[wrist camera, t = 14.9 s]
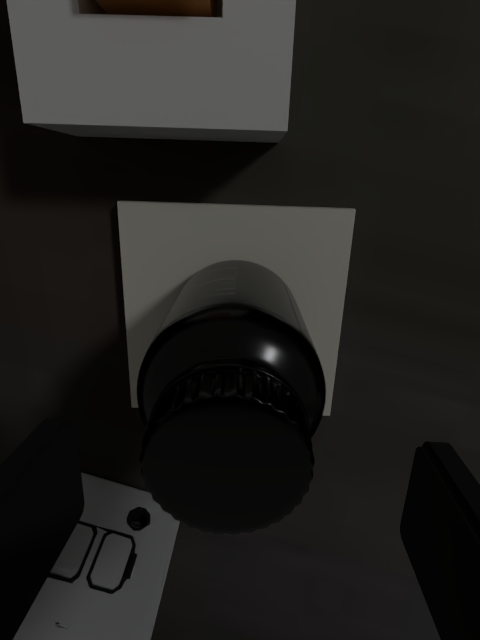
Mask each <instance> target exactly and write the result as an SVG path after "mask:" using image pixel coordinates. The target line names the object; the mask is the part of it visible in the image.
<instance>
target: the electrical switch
mask: <svg viewBox="0 0 480 640" xmlns="http://www.w3.org/2000/svg"><path fill="white" fill-rule="evenodd" d="M81 476H82V484H83V492H84V502H85V504H84V510H83V514H82V516H81V518H80V520H79V521H78V523H77V525H76V527H75V529H74V530H73V532H72V534H71V536H70V538H69V539H68V541H67V543H66V545H65V547H64V548H63V550H62V552H61V554H60V556H59V557H58V559H57V561H56V563H55V565H54V566H53V568H52V570H51V572H50V574H49V575H48V577H47V579H46V581H45V583H44V584H43V586H42V588H41V590H40V592H39V593H38V595H37V597H36V599H35V601H34V602H33V604H32V606H31V608H30V610H29V611H28V613H27V615H26V617H25V619H24V620H23V622H22V624H21V626H20V627H19V629H18V631H17V633H16V635H15V636H14V638H13V640H151V636H152V632H153V627H154V623H155V619H156V615H157V611H158V607H159V603H160V599H161V595H162V591H163V587H164V583H165V579H166V575H167V571H168V567H169V563H170V559H171V555H172V551H173V547H174V543H175V539H176V535H177V531H178V526H179V522H180V521H177V520H175V519H174V518H173V517H172V516H171V514H169V513H166V512H165V511H163V510H162V508H161V506H160V505H159V504H158V503H156V502H155V501H154V500H153V499H152V495H151V493H149V492H146V491H142V490H139V489H136V488H132V487H129V486H126V485H122V484H119V483H115V482H112V481H109V480H105V479H102V478H99V477H95V476H92V475H89V474H85V473H82V472H81Z"/></svg>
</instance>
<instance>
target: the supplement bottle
mask: <svg viewBox="0 0 480 640" xmlns="http://www.w3.org/2000/svg"><path fill="white" fill-rule="evenodd" d="M325 401H326V384H325V378H324V373H323V369H322V366H321V363H320V359H319V357H318V354H317V352H316V349H315V347H314V344H313V342H312V339H311V337H310V335H309V332H308V330H307V327H306V325H305V322H304V320H303V317H302V315H301V312H300V310H299V307H298V305H297V303H296V300H295V298H294V296H293V294H292V292H291V291H290V289H289V288H288V286H287V285H286V284H285V282H284V281H283V280H282V279H281V278H280V277H279V276H278V275H277V274H275V273H274V272H273V271H271V270H269V269H268V268H266V267H264V266H262V265H259V264H257V263H253V262H250V261H244V260H227V261H222V262H217V263H214V264H211V265H209V266H207V267H205V268H203V269H202V270H200V271H198V272H197V273H196V274H195V275H193V276H192V277H191V278H190V279H189V280H188V281H187V282H186V284H185V285H184V286H183V288H182V289H181V291H180V292H179V294H178V296H177V297H176V299H175V301H174V303H173V304H172V306H171V308H170V310H169V312H168V313H167V315H166V317H165V319H164V321H163V322H162V324H161V326H160V328H159V330H158V331H157V333H156V335H155V337H154V339H153V340H152V342H151V344H150V346H149V348H148V350H147V352H146V354H145V356H144V358H143V361H142V364H141V367H140V370H139V374H138V379H137V402H138V408H139V411H140V415H141V418H142V420H143V423H144V425H145V427H146V429H147V431H146V433H145V436H144V438H143V441H142V452H141V455H140V464H141V466H142V470H141V476H142V477H143V479H144V480H145V488H146V489H147V490H148V491H149V492H150V493H151V495H152V499H153V500H154V501H155V502H156V503H158V504H159V505H160V506H161V508H162V510H163V511H165V512H166V513H169V514H171V516H172V517H173V518H174V519H175V520H177V521H181V522H183V523H185V525H187V526H188V527H193V528H197V529H199V530H201V531H203V532H214V533H217V534H223V533H230V534H238V533H240V532H252V531H254V530H256V529H261V528H266V527H267V526H269V525H270V524H271V523H276V522H279V521H280V520H281V519H282V518H283V516H285V515H288V514H290V513H291V512H292V511H293V508H294V507H295V506H297V505H298V504H300V503H301V501H302V497H303V495H305V494H306V493H307V492H308V491H309V483H310V481H311V480H312V478H313V470H312V468H313V466H314V455H313V451H312V441H311V438H312V437H313V435H314V433H315V432H316V430H317V428H318V426H319V423H320V421H321V418H322V415H323V412H324V407H325Z"/></svg>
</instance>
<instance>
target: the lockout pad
mask: <svg viewBox="0 0 480 640" xmlns="http://www.w3.org/2000/svg"><path fill="white" fill-rule="evenodd" d="M117 207H118V221H119V235H120V249H121V264H122V278H123V292H124V306H125V320H126V334H127V348H128V363H129V377H130V391H131V405H132V408H138V402H137V379H138V374H139V370H140V367H141V364H142V361H143V358H144V356H145V354H146V352H147V350H148V348H149V346H150V344H151V342H152V340H153V339H154V337H155V335H156V333H157V331H158V330H159V328H160V326H161V324H162V322H163V321H164V319H165V317H166V315H167V313H168V312H169V310H170V308H171V306H172V304H173V303H174V301H175V299H176V297H177V296H178V294H179V292H180V291H181V289H182V288H183V286H184V285H185V284H186V282H187V281H188V280H189V279H190V278H191V277H192V276H193V275H195V274H196V273H197V272H198V271H200V270H202V269H203V268H205V267H207V266H209V265H211V264H214V263H217V262H222V261H227V260H244V261H250V262H253V263H257V264H259V265H262V266H264V267H266V268H268V269H269V270H271V271H273V272H274V273H275V274H277V275H278V276H279V277H280V278H281V279H282V280H283V281H284V282H285V284H286V285H287V286H288V288H289V289H290V291H291V292H292V294H293V296H294V298H295V300H296V303H297V305H298V307H299V310H300V312H301V315H302V317H303V320H304V322H305V325H306V327H307V330H308V332H309V335H310V337H311V339H312V342H313V344H314V347H315V349H316V352H317V354H318V357H319V359H320V363H321V366H322V369H323V373H324V378H325V384H326V401H325V407H324V412H323V415H327V416H330V411H331V403H332V395H333V387H334V379H335V371H336V363H337V355H338V347H339V339H340V331H341V323H342V315H343V307H344V299H345V291H346V283H347V275H348V267H349V259H350V252H351V244H352V236H353V228H354V220H355V212H356V209H353V208H328V207H298V206H269V205H239V204H210V203H181V202H151V201H117Z"/></svg>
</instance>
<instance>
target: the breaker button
mask: <svg viewBox="0 0 480 640" xmlns="http://www.w3.org/2000/svg"><path fill="white" fill-rule="evenodd" d="M96 2H97V3H98V4H99V5H100V6H101V7H102V9H103V10H104V11H105V12H106V13H107V14H112V15H148V16H184V17H217V0H96Z"/></svg>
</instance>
